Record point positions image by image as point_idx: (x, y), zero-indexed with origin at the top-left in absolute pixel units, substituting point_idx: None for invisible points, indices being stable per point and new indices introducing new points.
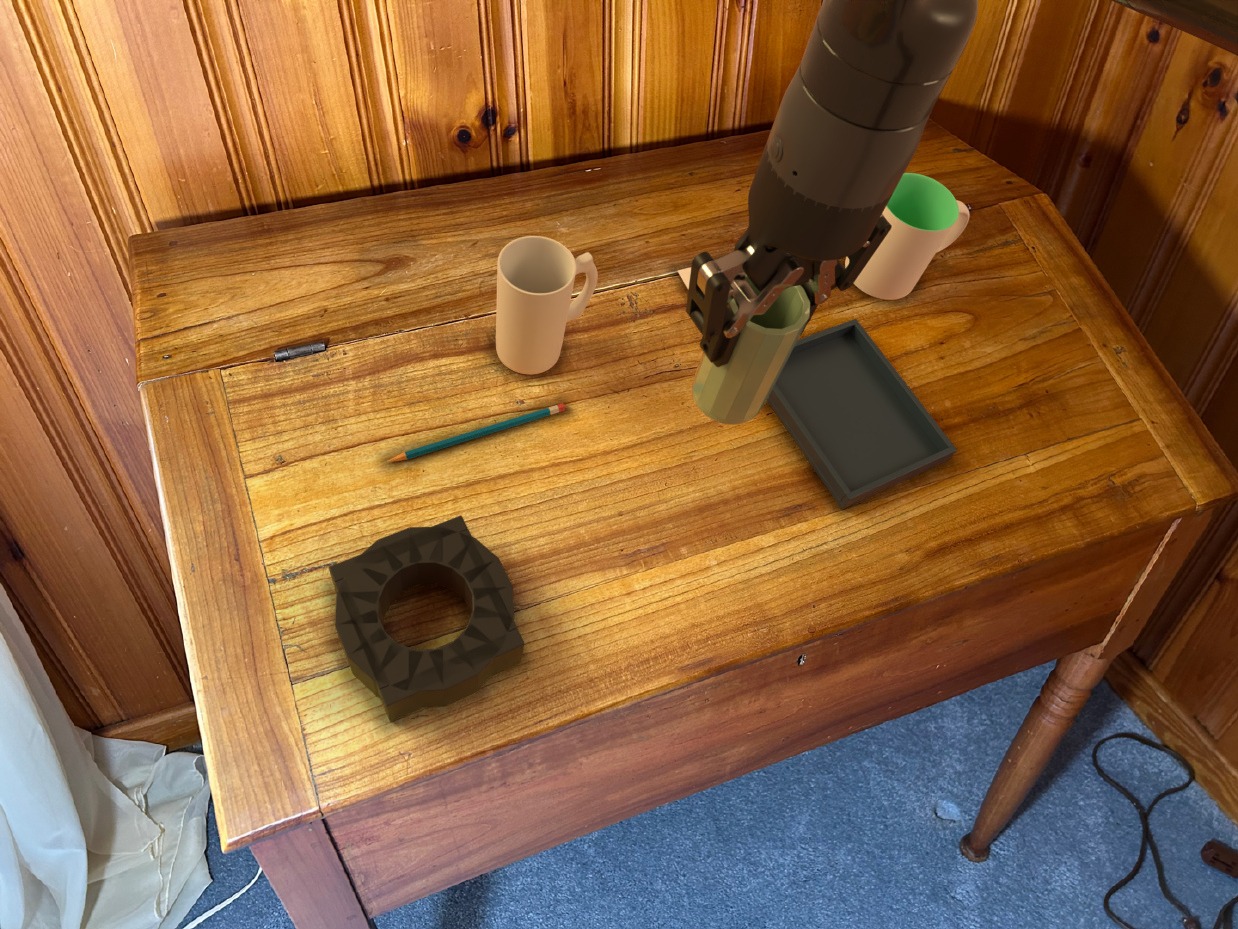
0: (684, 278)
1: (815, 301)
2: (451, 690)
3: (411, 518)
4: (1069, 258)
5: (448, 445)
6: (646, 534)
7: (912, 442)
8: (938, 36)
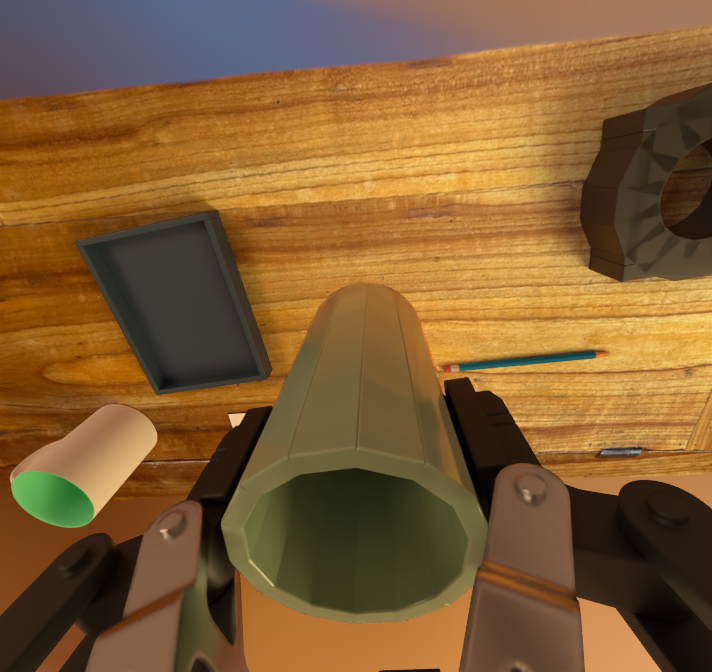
0: None
1: (201, 519)
2: None
3: (618, 298)
4: None
5: (555, 356)
6: (421, 231)
7: (125, 264)
8: None
